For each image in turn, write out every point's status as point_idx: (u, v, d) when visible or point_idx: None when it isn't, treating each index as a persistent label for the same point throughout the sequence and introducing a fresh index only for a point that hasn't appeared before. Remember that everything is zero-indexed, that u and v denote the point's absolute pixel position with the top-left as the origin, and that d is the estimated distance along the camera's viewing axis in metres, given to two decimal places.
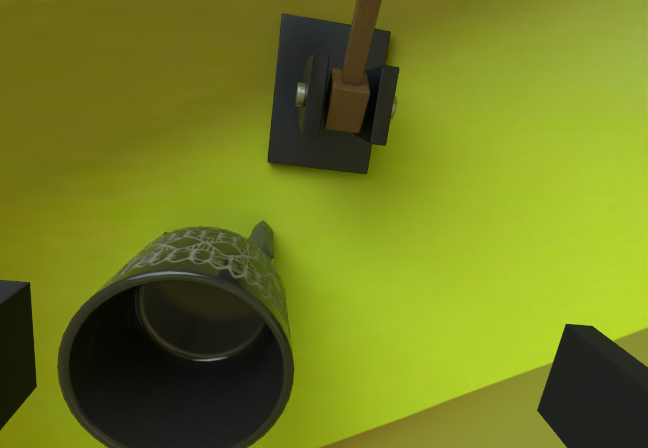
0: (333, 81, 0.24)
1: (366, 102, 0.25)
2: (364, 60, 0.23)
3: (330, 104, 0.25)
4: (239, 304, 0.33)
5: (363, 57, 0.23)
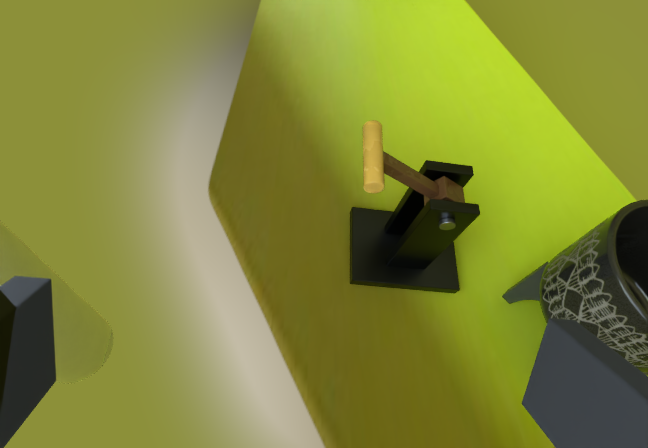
0: (439, 199, 0.37)
1: (448, 179, 0.37)
2: (427, 178, 0.36)
3: (454, 200, 0.37)
4: None
5: (426, 178, 0.36)
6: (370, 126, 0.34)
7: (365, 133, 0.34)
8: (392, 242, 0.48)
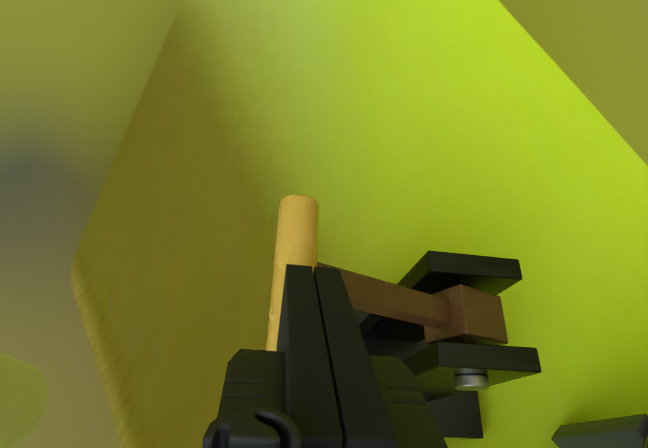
0: (452, 335, 0.18)
1: (470, 288, 0.19)
2: (425, 295, 0.18)
3: (483, 336, 0.18)
4: None
5: (422, 296, 0.18)
6: (289, 210, 0.16)
7: (279, 224, 0.16)
8: (372, 353, 0.29)
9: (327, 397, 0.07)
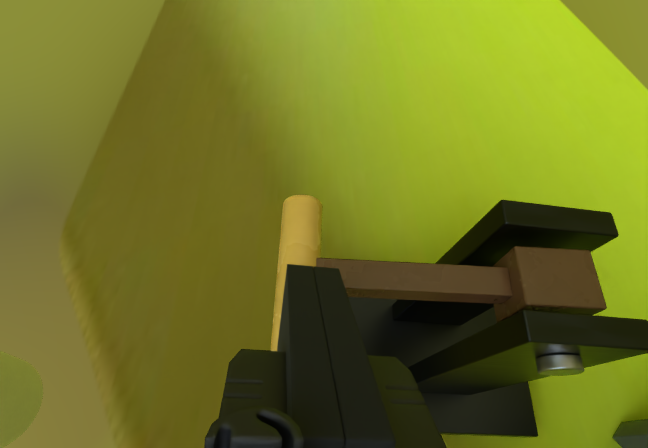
0: (516, 309, 0.15)
1: (531, 248, 0.15)
2: (468, 268, 0.15)
3: (557, 304, 0.14)
4: None
5: (464, 270, 0.15)
6: (285, 213, 0.16)
7: (281, 229, 0.16)
8: (407, 339, 0.25)
9: (326, 397, 0.07)
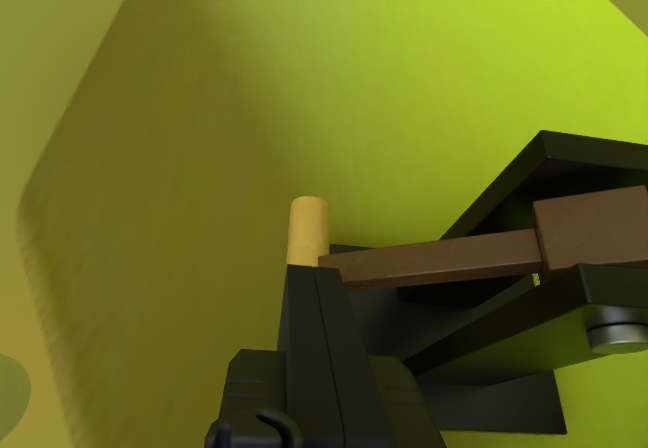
0: (547, 277, 0.12)
1: (556, 199, 0.12)
2: (482, 237, 0.13)
3: (594, 263, 0.11)
4: None
5: (478, 241, 0.13)
6: (290, 218, 0.16)
7: None
8: (414, 322, 0.22)
9: (326, 397, 0.07)
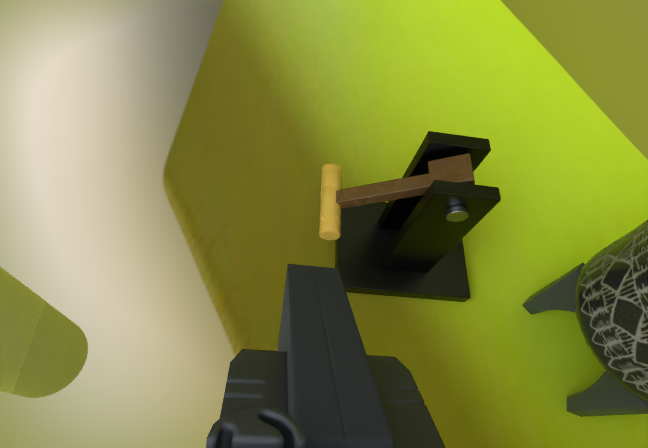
0: None
1: (436, 160, 0.29)
2: (408, 178, 0.30)
3: None
4: None
5: (406, 179, 0.30)
6: None
7: None
8: (387, 239, 0.39)
9: (324, 397, 0.07)
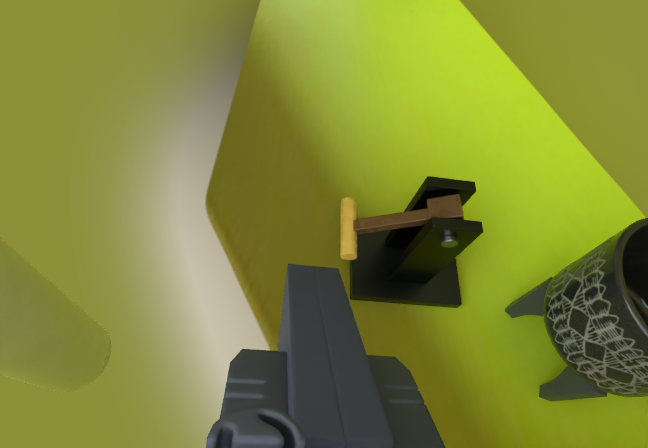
0: None
1: (433, 198, 0.37)
2: (411, 211, 0.38)
3: None
4: None
5: (410, 213, 0.38)
6: (341, 206, 0.41)
7: None
8: (393, 256, 0.47)
9: (324, 397, 0.07)
